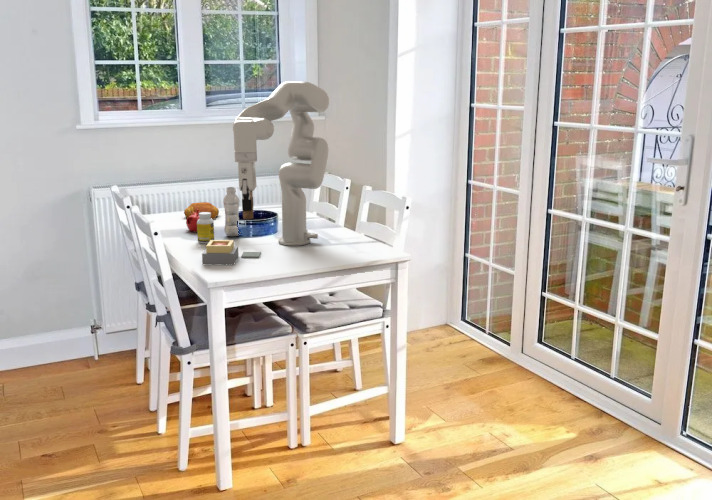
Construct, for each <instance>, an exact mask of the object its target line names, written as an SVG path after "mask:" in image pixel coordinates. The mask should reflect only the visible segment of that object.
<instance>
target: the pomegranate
mask: <svg viewBox="0 0 712 500" xmlns="http://www.w3.org/2000/svg"><path fill="white" fill-rule="evenodd" d="M196 211H197V214H196V213H195V212H193V213H194V214H192V212H191V214H192V215H191V214H190V215H191V216H189V217H188V218H187V217H186V220H185V224H186V227H187V229H188V230H189V231H190V232H193V233H197V221H198V219H200V217H199V209H197V210H196Z"/></svg>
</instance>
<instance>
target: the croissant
mask: <svg viewBox="0 0 712 500" xmlns="http://www.w3.org/2000/svg"><path fill="white" fill-rule="evenodd" d="M197 209H199V213H201V212H210V213H211V217H210V218H215V217H216V216H217V215H218V216H219V214H220V213H219V212H220V210H219V208H218V207H217V206H215V205H213V204H212V203H211V202H206V201H204V202H202V201H201V202H192V203H190V205H189V206H188V207H186V208H185V209H184V210H183V211H184V212H183V214H184V215H185V218H186V219H187V218H188V217H189V216H191V215H192V214H194V213H193V212H195V213H196V214H197V211H196V210H197ZM191 212H192V214H191ZM190 214H191V215H190ZM218 216H217V217H218ZM217 217H216V218H217ZM216 218H215V219H216Z"/></svg>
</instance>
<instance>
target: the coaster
mask: <svg viewBox="0 0 712 500" xmlns="http://www.w3.org/2000/svg"><path fill="white" fill-rule="evenodd" d="M261 254H262V251H243V252H242V254H241V256H240V258H241V259H259V258H260V257H261Z"/></svg>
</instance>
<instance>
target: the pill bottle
mask: <svg viewBox="0 0 712 500" xmlns="http://www.w3.org/2000/svg"><path fill="white" fill-rule="evenodd" d="M199 217H200V219H198V221H197V232H196V233H197V242H198V243H199V244H208V243H209V242H210V240H215V226H214V225H215V224H214V223H215V222H214V219H211V218H210V217H211V213H210V212H201V213H199Z"/></svg>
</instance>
